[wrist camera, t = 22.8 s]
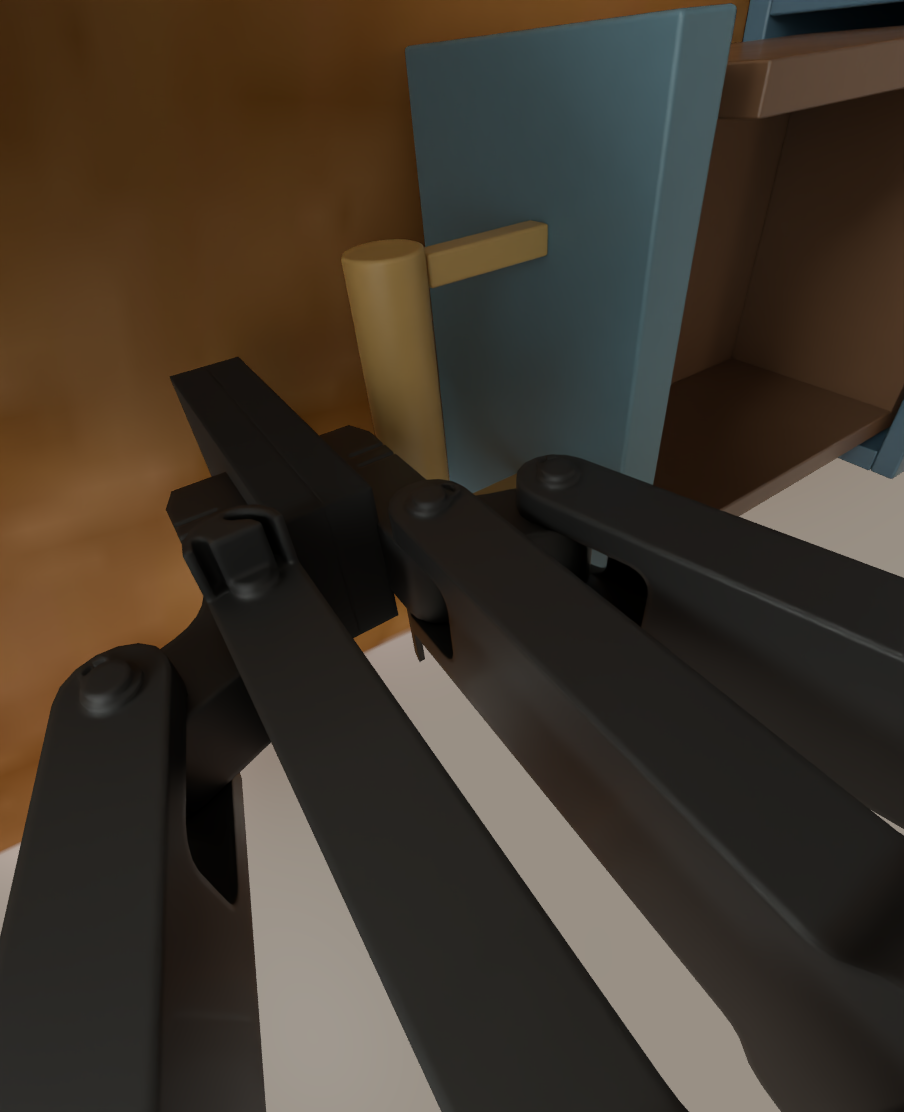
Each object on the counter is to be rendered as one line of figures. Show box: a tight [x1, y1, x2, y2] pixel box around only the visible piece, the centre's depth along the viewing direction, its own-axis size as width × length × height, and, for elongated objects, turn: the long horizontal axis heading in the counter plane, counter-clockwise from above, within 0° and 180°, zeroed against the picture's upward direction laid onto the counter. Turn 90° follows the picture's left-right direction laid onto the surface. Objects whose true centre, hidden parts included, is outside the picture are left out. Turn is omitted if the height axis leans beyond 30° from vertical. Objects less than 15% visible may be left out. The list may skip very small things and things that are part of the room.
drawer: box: [341, 3, 904, 567], centre depth 16 cm, size 19×12×8 cm, turn 97°
